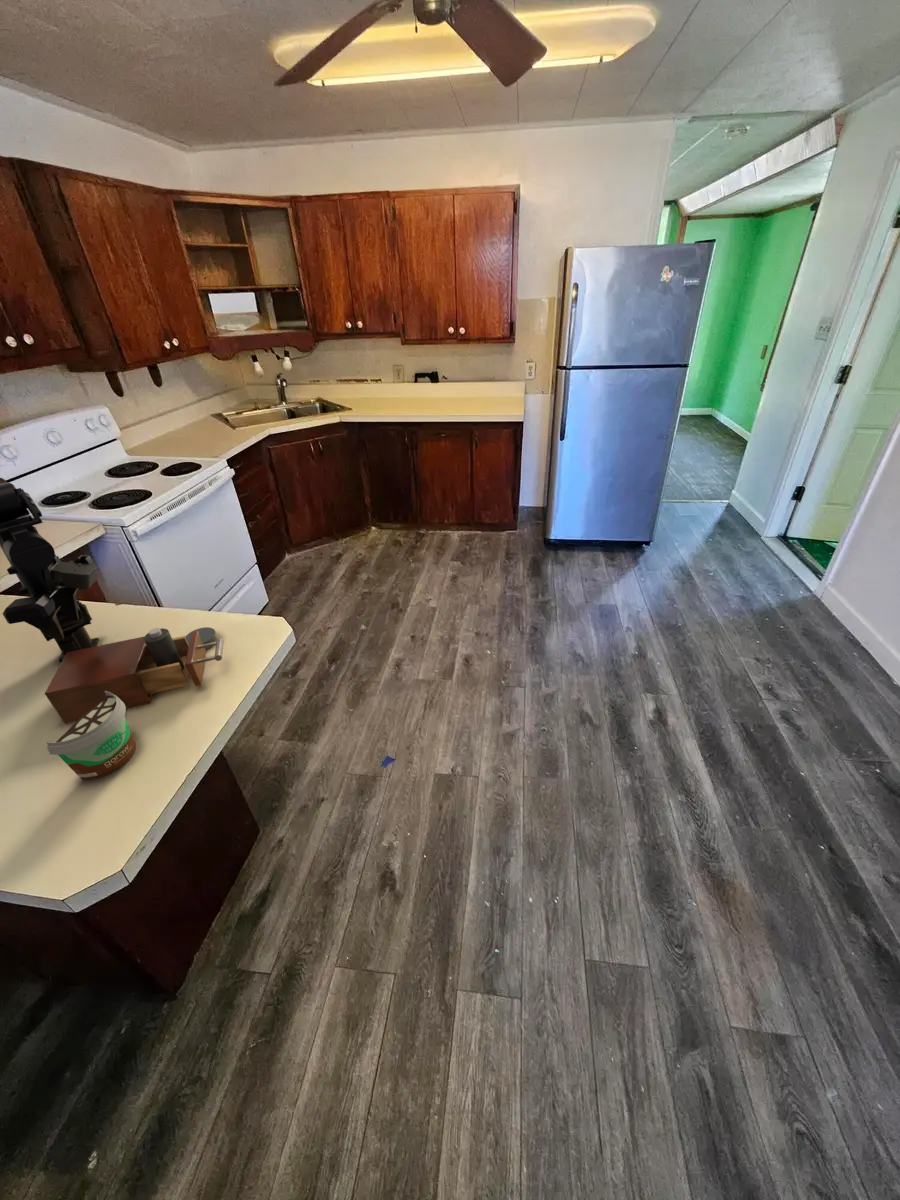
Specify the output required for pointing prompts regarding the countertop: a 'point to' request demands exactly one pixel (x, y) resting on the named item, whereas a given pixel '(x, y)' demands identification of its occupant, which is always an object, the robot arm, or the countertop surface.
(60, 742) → the food container
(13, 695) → the countertop surface
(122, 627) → the countertop surface
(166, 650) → the pepper mill
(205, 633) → the disc
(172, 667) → the drawer
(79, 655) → the cabinet
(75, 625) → the robot arm
